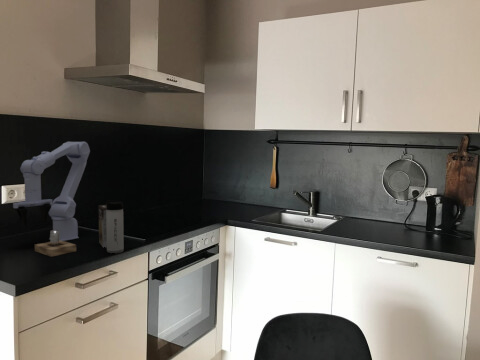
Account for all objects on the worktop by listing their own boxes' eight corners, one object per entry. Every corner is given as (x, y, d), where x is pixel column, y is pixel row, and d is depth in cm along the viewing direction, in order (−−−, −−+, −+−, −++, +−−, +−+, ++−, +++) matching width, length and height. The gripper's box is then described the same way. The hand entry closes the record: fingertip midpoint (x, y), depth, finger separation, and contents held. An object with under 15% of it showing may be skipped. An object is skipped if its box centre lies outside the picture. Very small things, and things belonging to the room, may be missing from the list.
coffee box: (98, 242, 168) (97, 205, 166) (114, 241, 171) (113, 204, 169) (102, 248, 160) (102, 208, 158) (119, 246, 163) (118, 207, 161)
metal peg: (56, 249, 156) (56, 229, 155) (61, 250, 155) (61, 230, 154) (49, 251, 153) (48, 231, 153) (54, 252, 152) (53, 232, 151)
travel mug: (112, 248, 159) (111, 199, 157) (126, 250, 157) (126, 200, 155) (102, 252, 153) (101, 201, 151) (117, 254, 151) (116, 202, 149)
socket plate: (59, 246, 162) (59, 240, 161) (76, 251, 154) (76, 244, 154) (34, 251, 153) (34, 244, 153) (51, 256, 146) (51, 250, 146)
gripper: (18, 192, 149) (20, 228, 150) (56, 189, 161) (56, 222, 162) (10, 191, 153) (11, 225, 154) (46, 188, 165) (47, 220, 166)
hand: (34, 224), depth 159 cm, fingers open, 7 cm apart
